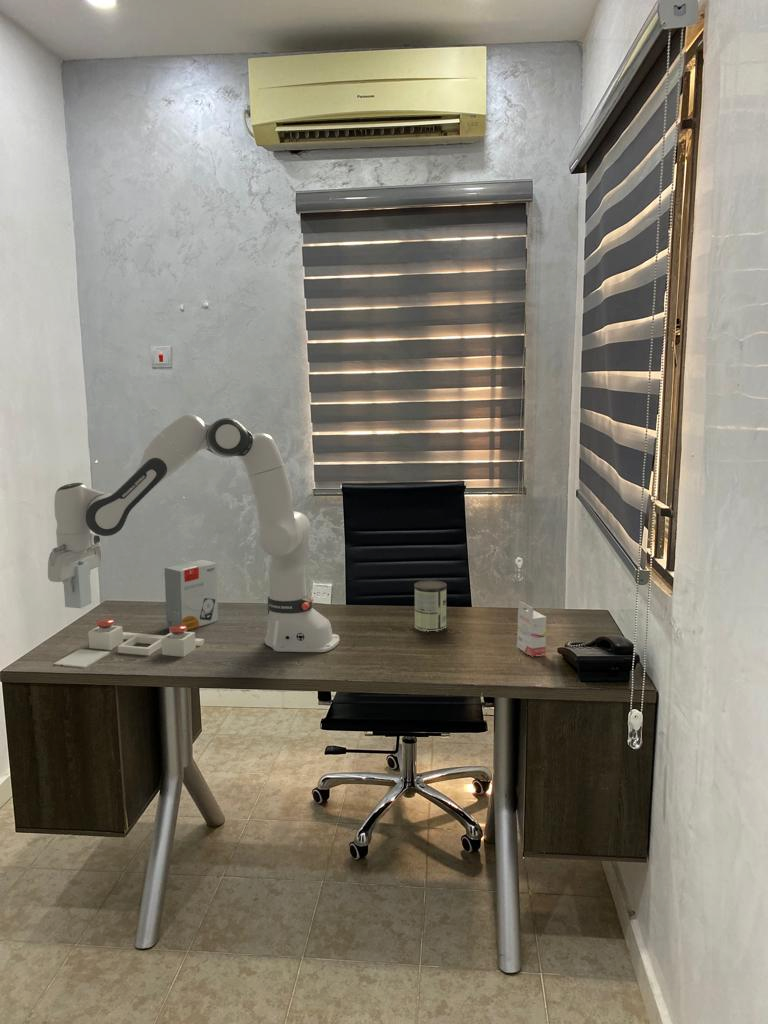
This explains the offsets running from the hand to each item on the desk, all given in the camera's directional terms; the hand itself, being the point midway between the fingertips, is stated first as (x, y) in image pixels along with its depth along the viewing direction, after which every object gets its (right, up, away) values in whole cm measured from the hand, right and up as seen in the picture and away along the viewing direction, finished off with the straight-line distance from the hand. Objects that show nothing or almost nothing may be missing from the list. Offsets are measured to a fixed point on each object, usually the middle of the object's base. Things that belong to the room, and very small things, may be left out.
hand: (77, 589), depth 227 cm
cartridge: (0, -5, +1) cm, 5 cm away
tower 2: (+26, -19, +9) cm, 34 cm away
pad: (0, -20, +4) cm, 20 cm away
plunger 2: (+26, -19, +9) cm, 33 cm away
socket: (+15, -18, +14) cm, 27 cm away
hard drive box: (+24, -15, +34) cm, 45 cm away
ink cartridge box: (+129, -19, +8) cm, 131 cm away
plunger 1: (+3, -18, +15) cm, 23 cm away
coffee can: (+101, -15, +31) cm, 107 cm away
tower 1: (+3, -18, +15) cm, 24 cm away
